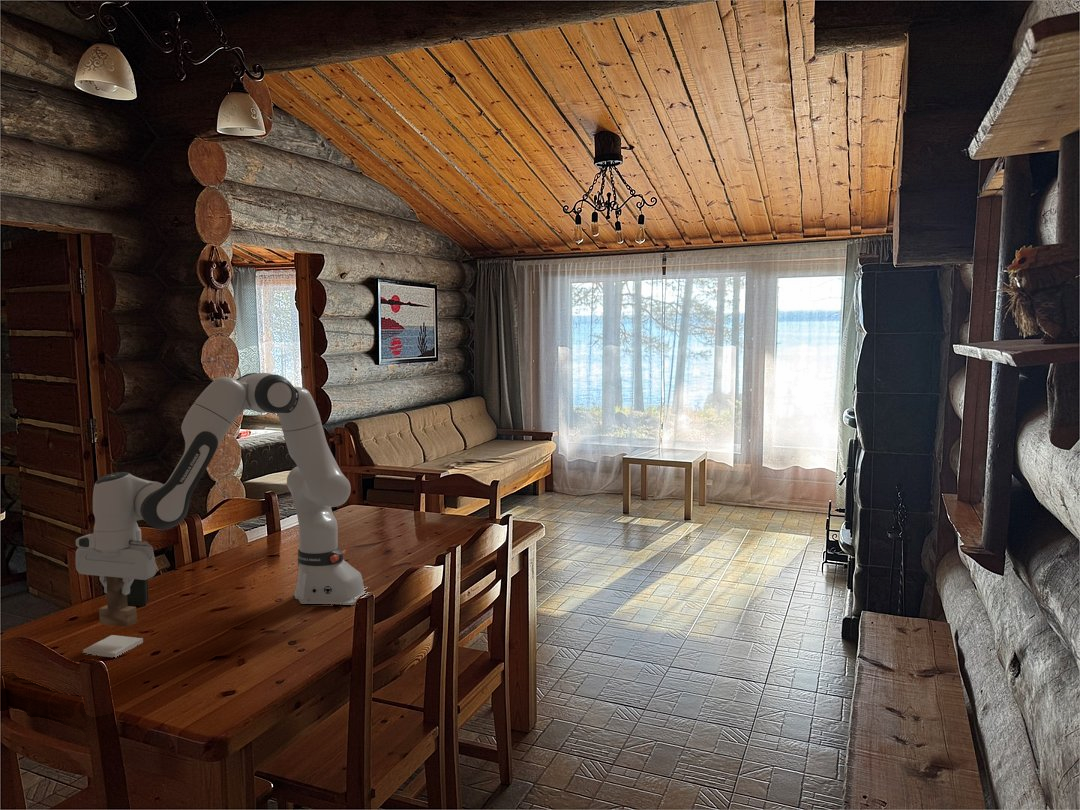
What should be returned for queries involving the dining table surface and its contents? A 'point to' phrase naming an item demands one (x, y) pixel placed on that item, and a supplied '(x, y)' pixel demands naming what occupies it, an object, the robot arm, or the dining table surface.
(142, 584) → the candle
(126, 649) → the tile
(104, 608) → the grey t-shaped post
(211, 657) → the dining table surface
